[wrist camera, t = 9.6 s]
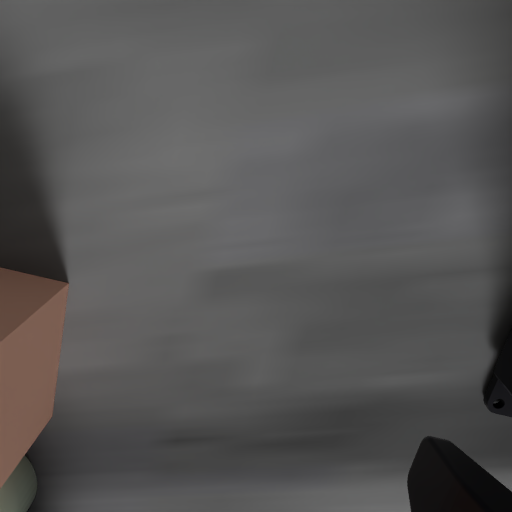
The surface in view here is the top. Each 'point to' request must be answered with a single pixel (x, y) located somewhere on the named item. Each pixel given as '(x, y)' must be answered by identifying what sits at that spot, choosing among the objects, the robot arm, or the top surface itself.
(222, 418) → the top surface
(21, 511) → the spice jar
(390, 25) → the top surface
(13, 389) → the tea box
